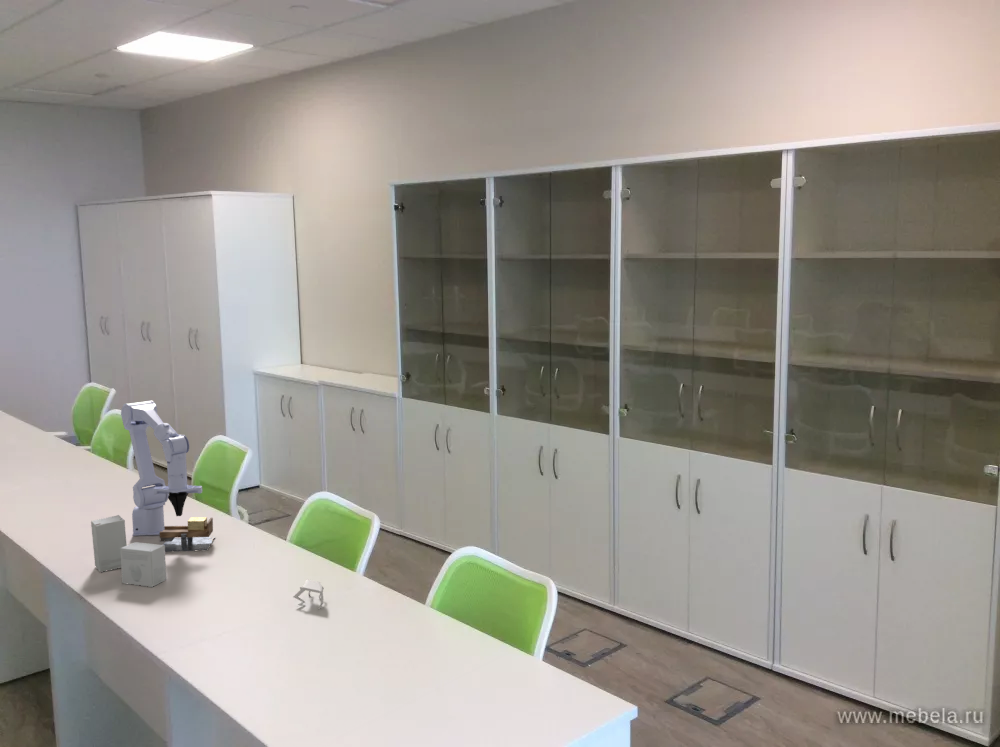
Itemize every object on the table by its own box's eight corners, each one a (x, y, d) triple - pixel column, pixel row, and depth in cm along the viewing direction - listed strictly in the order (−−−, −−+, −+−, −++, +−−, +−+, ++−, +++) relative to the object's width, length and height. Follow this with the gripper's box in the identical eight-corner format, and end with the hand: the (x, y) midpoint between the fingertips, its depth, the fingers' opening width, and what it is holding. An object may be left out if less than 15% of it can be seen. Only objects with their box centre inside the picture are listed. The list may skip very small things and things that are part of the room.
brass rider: (187, 533, 268) (187, 521, 267) (191, 529, 272) (191, 517, 271) (204, 533, 268) (203, 521, 267) (207, 529, 272) (207, 517, 271)
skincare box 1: (123, 561, 255) (120, 514, 253) (129, 567, 251) (126, 519, 249) (93, 567, 250) (90, 519, 248) (98, 573, 245) (95, 524, 243)
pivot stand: (157, 552, 263) (156, 537, 263) (168, 539, 275) (167, 525, 274) (207, 550, 265) (206, 535, 264) (215, 537, 277) (214, 523, 276)
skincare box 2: (167, 579, 242) (165, 544, 240) (152, 587, 236) (150, 551, 234) (136, 575, 244) (134, 540, 243) (121, 583, 238) (119, 548, 237)
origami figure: (286, 602, 226) (286, 585, 226) (312, 593, 233) (311, 576, 232) (314, 615, 219) (313, 597, 218) (339, 605, 225) (339, 587, 224)
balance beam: (159, 542, 266) (159, 523, 265) (165, 535, 272) (164, 517, 271) (208, 541, 268) (208, 523, 267) (213, 535, 274) (212, 517, 273)
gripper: (149, 477, 262) (152, 519, 264) (197, 476, 263) (199, 518, 265) (156, 471, 269) (158, 512, 271) (203, 470, 270) (204, 511, 272)
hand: (179, 515), depth 268 cm, fingers closed
